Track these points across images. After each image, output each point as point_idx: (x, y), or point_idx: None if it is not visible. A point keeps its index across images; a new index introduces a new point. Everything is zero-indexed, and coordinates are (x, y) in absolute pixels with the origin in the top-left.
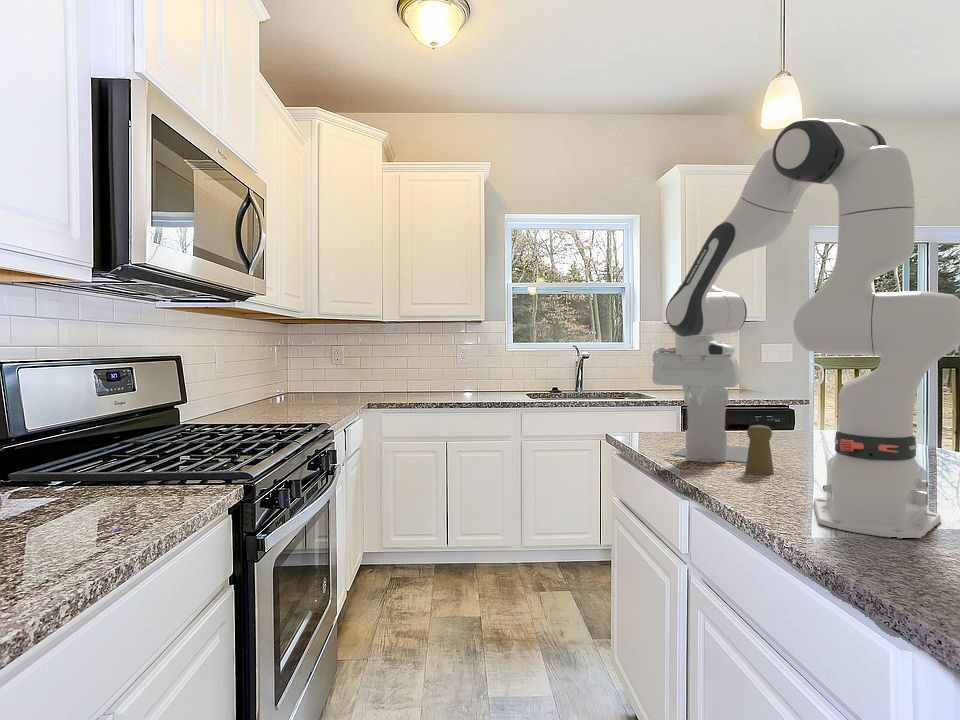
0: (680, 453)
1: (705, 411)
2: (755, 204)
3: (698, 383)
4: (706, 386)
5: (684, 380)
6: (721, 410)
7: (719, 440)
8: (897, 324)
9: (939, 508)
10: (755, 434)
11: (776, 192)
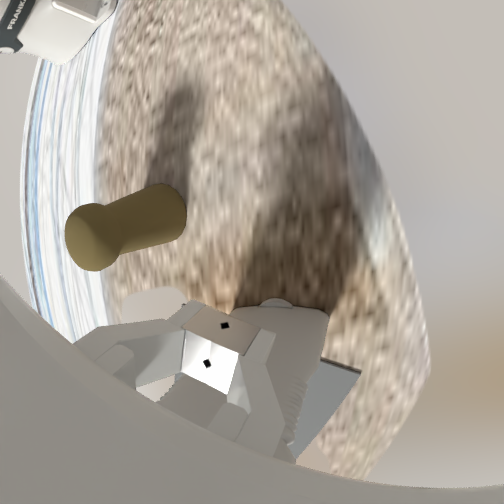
0: (336, 385)
1: (218, 404)
2: None
3: (66, 363)
4: None
5: (209, 494)
6: (165, 400)
7: None
8: None
9: (34, 88)
10: (96, 206)
11: None
